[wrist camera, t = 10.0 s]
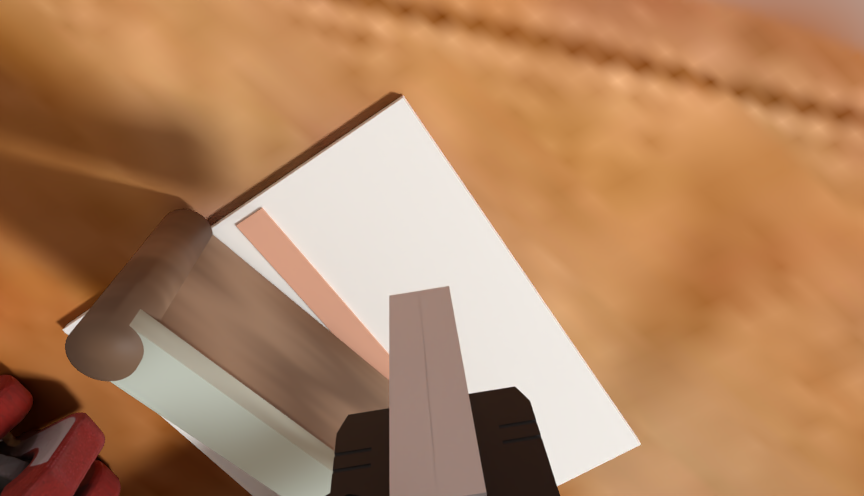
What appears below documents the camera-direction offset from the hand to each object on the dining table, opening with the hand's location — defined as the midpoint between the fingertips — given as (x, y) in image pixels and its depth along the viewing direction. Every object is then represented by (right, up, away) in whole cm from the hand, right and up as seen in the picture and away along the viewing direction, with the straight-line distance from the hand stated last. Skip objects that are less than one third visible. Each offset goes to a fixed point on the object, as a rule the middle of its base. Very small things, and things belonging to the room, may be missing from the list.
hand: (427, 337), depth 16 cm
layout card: (-2, -4, +11) cm, 12 cm away
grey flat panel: (-5, -1, +8) cm, 10 cm away
